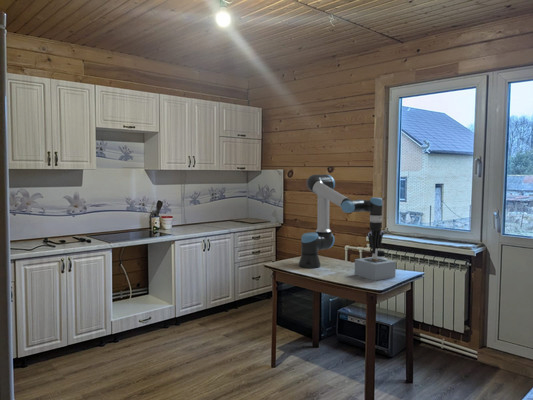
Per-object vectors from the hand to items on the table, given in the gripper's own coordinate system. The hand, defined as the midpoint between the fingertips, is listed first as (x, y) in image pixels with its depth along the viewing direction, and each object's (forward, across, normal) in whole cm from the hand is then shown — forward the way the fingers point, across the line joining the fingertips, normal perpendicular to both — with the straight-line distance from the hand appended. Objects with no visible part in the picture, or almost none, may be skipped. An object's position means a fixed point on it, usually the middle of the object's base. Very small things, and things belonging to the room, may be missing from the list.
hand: (374, 258), depth 270 cm
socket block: (+11, 0, 0) cm, 11 cm away
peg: (+10, 0, 0) cm, 10 cm away
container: (+12, +16, +11) cm, 23 cm away
